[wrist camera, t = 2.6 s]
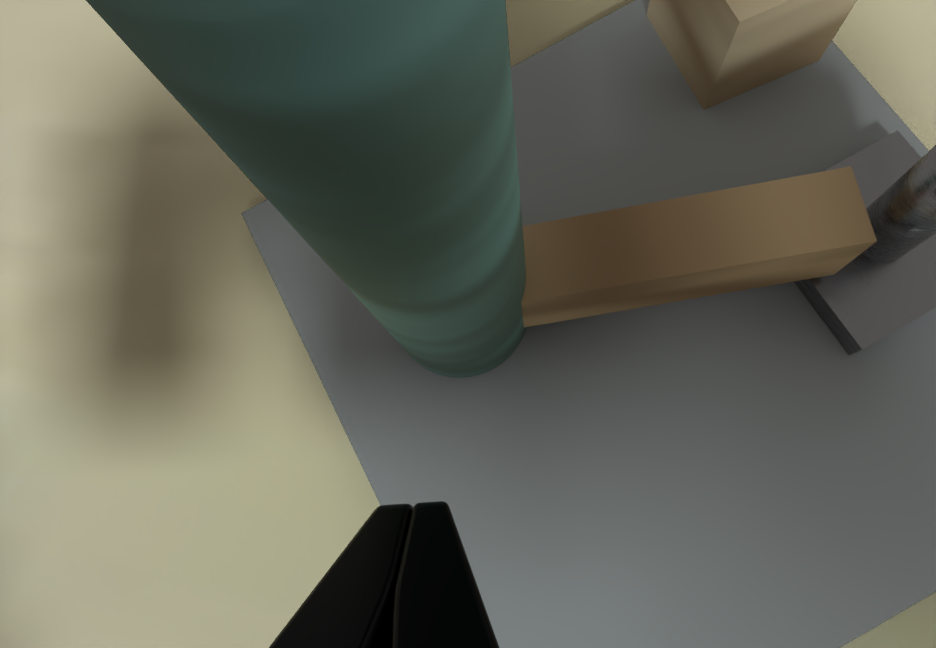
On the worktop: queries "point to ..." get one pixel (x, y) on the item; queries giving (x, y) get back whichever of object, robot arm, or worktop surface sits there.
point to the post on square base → (884, 248)
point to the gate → (454, 173)
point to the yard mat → (656, 388)
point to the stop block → (743, 40)
